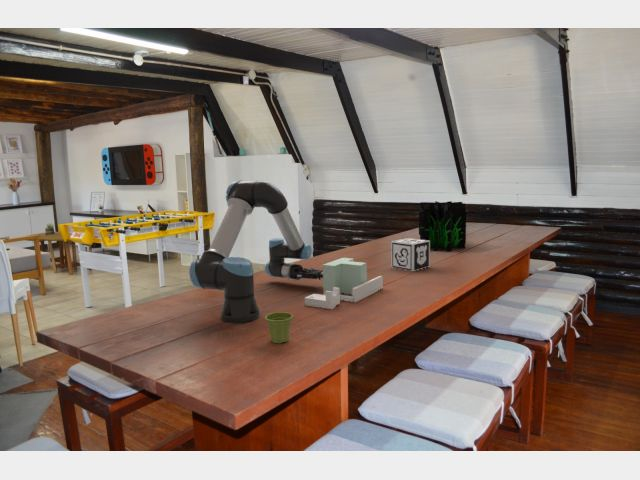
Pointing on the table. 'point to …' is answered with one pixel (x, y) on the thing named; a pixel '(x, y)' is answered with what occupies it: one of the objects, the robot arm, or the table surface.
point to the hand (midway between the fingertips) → (333, 276)
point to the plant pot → (279, 326)
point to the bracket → (324, 299)
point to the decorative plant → (443, 225)
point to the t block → (344, 275)
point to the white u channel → (364, 290)
